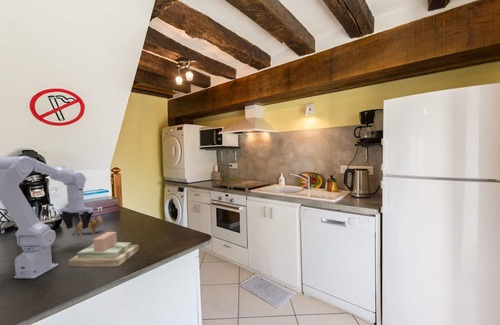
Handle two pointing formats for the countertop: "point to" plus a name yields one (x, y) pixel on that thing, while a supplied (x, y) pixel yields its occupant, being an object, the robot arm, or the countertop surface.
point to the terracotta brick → (105, 241)
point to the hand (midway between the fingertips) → (77, 228)
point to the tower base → (103, 260)
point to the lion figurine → (90, 225)
